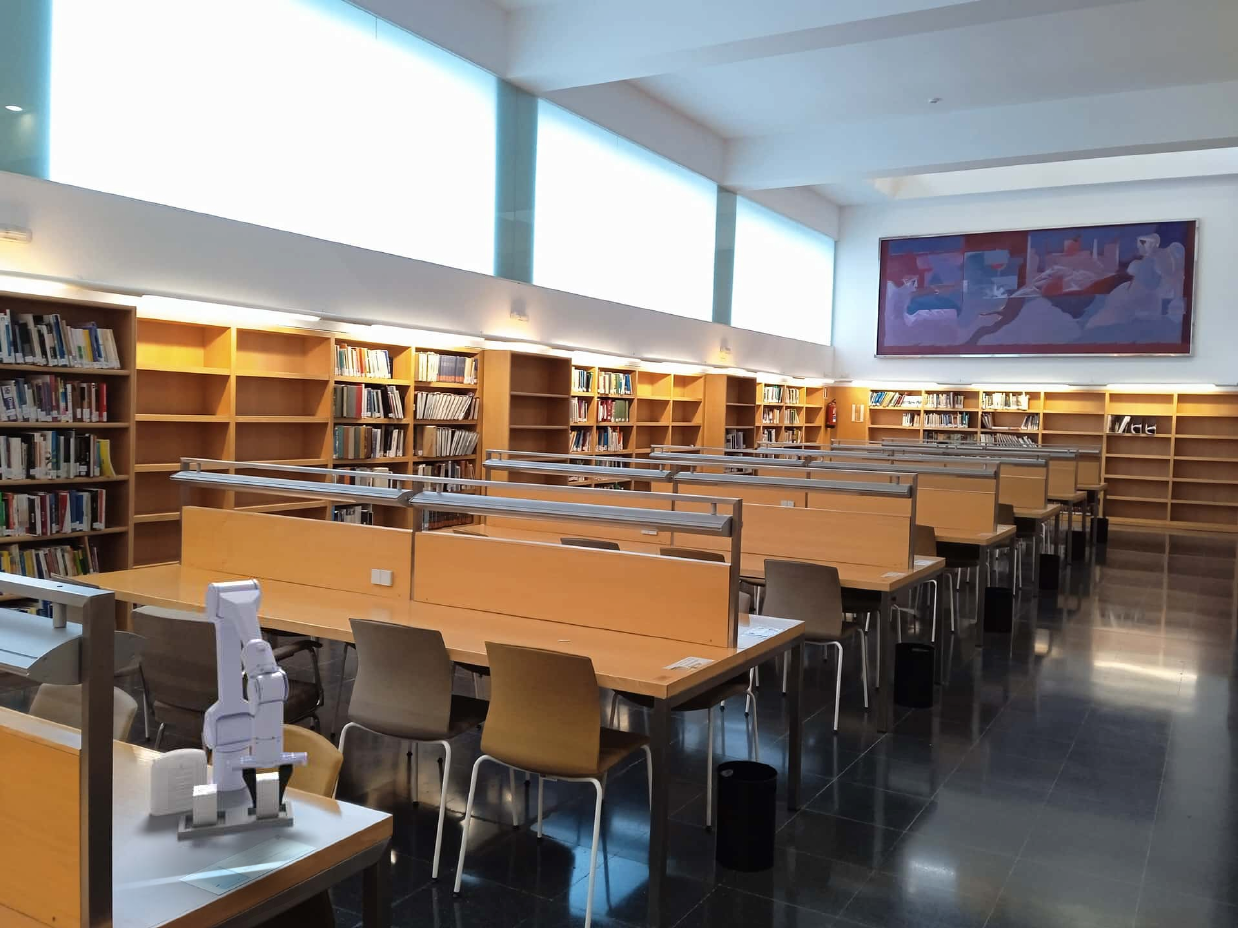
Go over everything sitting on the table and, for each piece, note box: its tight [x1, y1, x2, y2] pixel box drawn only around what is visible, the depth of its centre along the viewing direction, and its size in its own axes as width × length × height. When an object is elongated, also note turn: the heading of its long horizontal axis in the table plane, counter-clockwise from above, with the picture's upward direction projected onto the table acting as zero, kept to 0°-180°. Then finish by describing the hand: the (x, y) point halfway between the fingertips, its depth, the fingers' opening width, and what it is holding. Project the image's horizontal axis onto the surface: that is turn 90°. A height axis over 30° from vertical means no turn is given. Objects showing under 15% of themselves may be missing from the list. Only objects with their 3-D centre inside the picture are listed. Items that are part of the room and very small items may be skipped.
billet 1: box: [192, 783, 218, 828], centre depth 183 cm, size 5×4×7 cm
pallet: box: [177, 800, 294, 840], centre depth 185 cm, size 9×20×2 cm, turn 112°
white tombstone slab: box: [149, 748, 208, 817], centre depth 191 cm, size 10×4×12 cm, turn 123°
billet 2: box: [256, 771, 279, 820], centre depth 187 cm, size 5×4×7 cm
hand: (267, 804), depth 187 cm, fingers closed on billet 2, 4 cm apart
